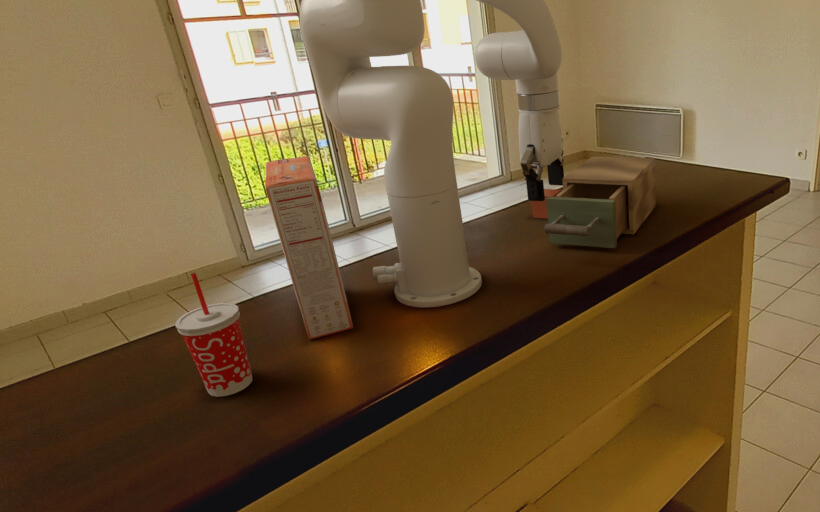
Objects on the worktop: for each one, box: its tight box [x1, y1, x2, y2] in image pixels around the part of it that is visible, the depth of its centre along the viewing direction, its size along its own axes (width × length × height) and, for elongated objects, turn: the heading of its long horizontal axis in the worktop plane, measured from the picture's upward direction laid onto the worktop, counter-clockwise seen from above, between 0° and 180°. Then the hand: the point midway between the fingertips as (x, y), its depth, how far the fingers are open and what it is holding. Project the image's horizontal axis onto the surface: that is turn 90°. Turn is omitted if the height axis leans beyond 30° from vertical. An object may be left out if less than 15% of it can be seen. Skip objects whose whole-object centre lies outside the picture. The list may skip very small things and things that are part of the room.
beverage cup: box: [174, 272, 253, 398], centre depth 67 cm, size 6×6×14 cm
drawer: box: [544, 183, 629, 249], centre depth 102 cm, size 21×11×8 cm, turn 159°
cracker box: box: [264, 155, 354, 340], centre depth 81 cm, size 14×6×21 cm, turn 25°
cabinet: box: [562, 156, 657, 235], centre depth 113 cm, size 16×13×10 cm
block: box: [530, 188, 562, 220], centre depth 118 cm, size 4×4×4 cm
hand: (547, 192), depth 117 cm, fingers open, 9 cm apart
